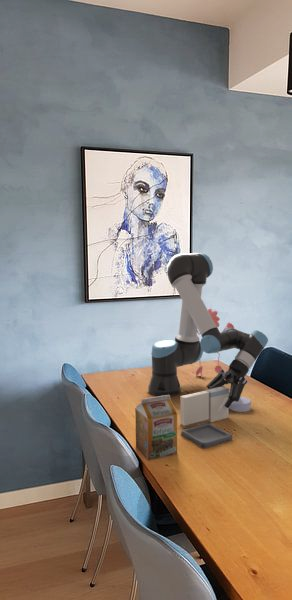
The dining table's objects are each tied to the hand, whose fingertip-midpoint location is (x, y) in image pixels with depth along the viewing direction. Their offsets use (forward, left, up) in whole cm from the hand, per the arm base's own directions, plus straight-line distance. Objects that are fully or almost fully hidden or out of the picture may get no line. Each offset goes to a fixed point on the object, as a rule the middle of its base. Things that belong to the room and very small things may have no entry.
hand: (211, 409), depth 186 cm
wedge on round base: (-5, +17, -5) cm, 18 cm away
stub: (0, +3, -4) cm, 5 cm away
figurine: (-49, +38, -5) cm, 62 cm away
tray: (+12, -12, -4) cm, 17 cm away
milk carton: (+11, -33, -5) cm, 35 cm away
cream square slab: (0, -8, -4) cm, 9 cm away
